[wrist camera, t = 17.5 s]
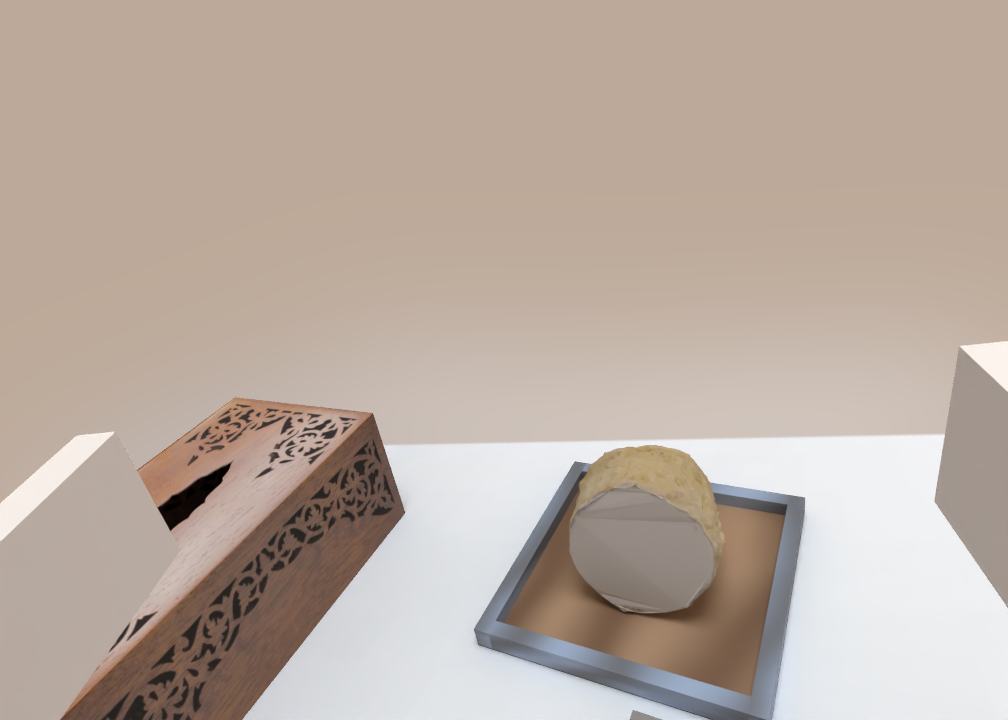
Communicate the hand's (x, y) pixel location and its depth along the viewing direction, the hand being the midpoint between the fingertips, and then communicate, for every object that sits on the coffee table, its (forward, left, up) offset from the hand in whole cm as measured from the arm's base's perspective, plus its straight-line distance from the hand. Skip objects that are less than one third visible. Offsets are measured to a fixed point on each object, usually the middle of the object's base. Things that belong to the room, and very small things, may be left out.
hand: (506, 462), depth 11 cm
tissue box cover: (-34, +10, -28) cm, 45 cm away
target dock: (-6, +23, -28) cm, 37 cm away
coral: (-6, +23, -28) cm, 37 cm away
